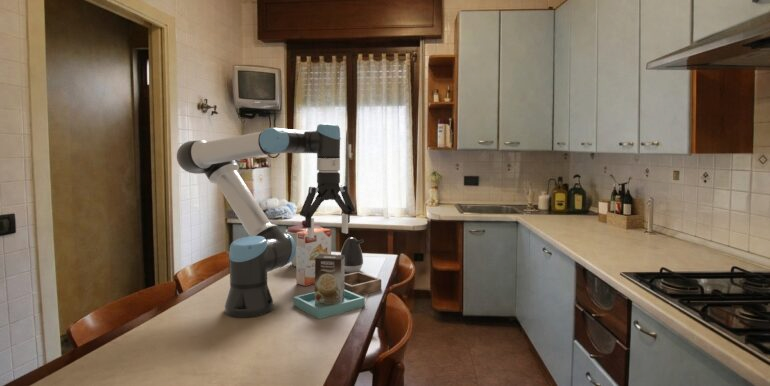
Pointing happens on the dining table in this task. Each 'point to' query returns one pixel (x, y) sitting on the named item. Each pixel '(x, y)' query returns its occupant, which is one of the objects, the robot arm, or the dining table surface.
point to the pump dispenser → (352, 255)
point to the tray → (322, 311)
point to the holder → (361, 283)
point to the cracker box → (310, 253)
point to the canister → (293, 231)
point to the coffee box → (329, 279)
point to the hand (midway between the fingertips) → (328, 235)
